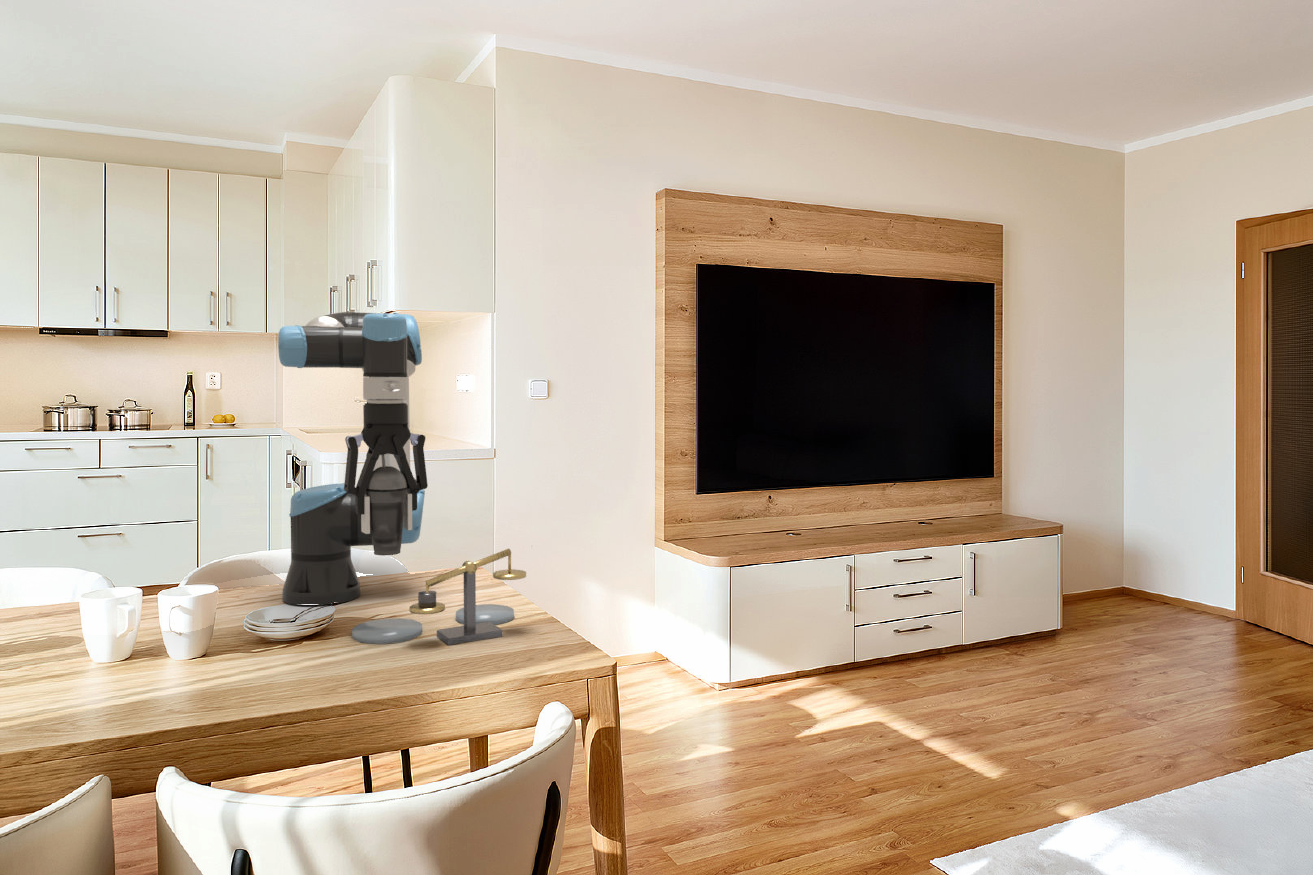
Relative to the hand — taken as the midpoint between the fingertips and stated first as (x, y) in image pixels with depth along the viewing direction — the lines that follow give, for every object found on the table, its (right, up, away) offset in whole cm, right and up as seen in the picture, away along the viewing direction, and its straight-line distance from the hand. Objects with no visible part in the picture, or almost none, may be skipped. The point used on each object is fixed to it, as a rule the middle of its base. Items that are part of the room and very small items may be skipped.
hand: (387, 530), depth 158 cm
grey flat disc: (0, -19, +1) cm, 19 cm away
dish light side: (+15, -18, +12) cm, 27 cm away
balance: (+15, -19, 0) cm, 24 cm away
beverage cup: (0, -4, 0) cm, 4 cm away
